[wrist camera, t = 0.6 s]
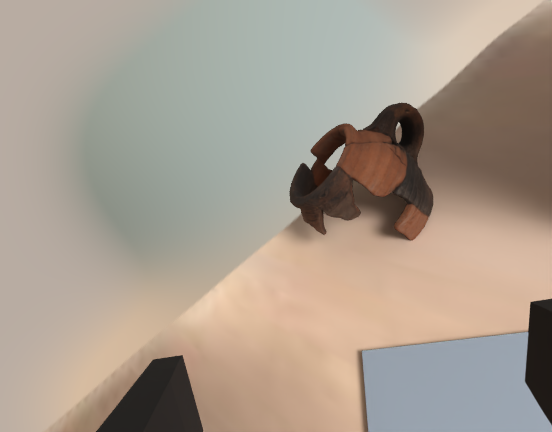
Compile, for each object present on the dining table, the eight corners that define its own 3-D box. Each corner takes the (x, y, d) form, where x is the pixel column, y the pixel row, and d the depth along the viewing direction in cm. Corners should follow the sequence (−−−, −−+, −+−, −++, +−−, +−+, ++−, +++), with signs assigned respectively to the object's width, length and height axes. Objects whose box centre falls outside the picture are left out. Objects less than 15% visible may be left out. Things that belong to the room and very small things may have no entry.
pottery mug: (404, 280, 30) (315, 220, 27) (338, 255, 39) (266, 207, 36) (484, 137, 31) (407, 64, 28) (403, 143, 40) (338, 88, 37)
